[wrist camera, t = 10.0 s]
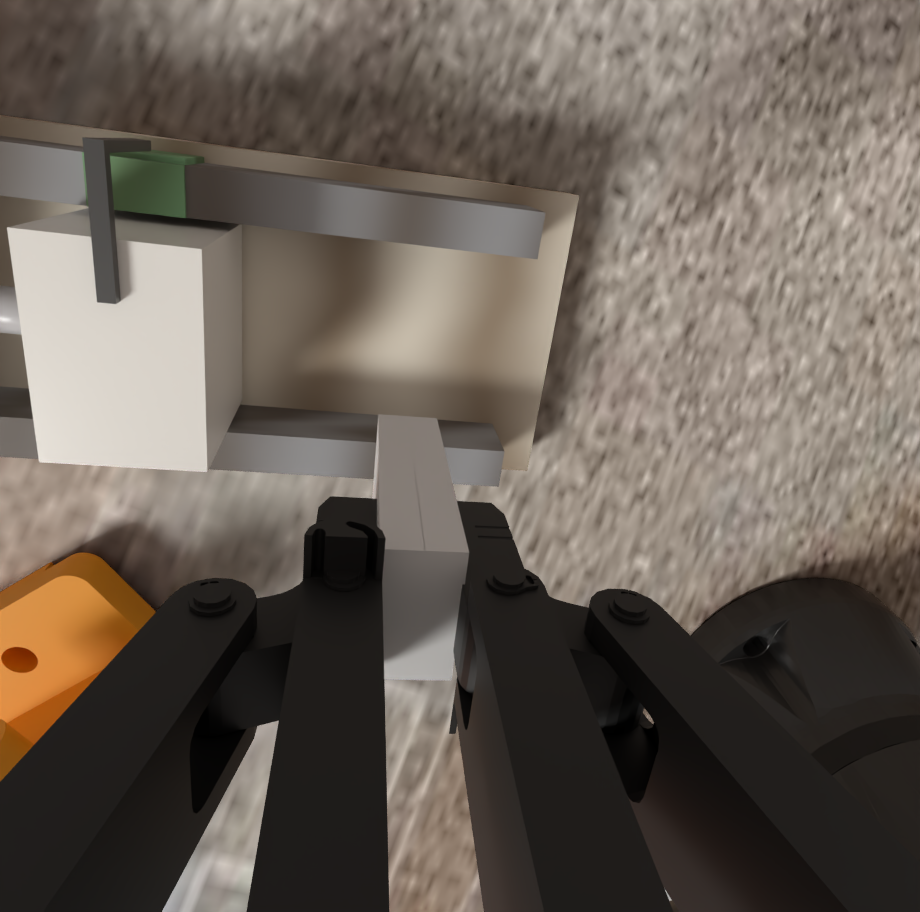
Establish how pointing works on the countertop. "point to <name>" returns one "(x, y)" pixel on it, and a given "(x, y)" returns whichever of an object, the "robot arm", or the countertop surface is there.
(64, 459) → the gauge carriage
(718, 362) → the countertop surface
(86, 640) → the bracket
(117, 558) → the countertop surface
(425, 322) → the base
